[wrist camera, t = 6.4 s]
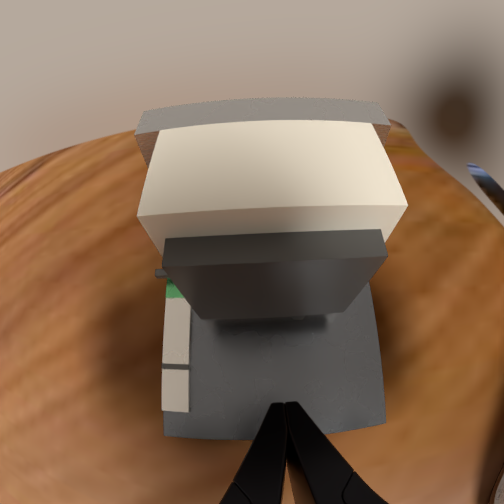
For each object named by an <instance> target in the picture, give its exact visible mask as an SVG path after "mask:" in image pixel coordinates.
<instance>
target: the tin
mask: <svg viewBox="0 0 504 504" xmlns="http://www.w3.org/2000/svg"><path fill="white" fill-rule="evenodd" d="M489 504H504V465H503V468H502V470H501V472H500V474H499V476H498V479H497V481H496V483H495V485H494V488H493V491H492V494H491V497H490V502H489Z"/></svg>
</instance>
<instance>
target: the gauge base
mask: <svg viewBox="0 0 504 504" xmlns="http://www.w3.org/2000/svg"><path fill="white" fill-rule="evenodd" d="M267 120H325V121H347V122H362V123H371V124H372V126H373V128H374V129H375V131H376V133H377V135H378V137H379V139H380V142H381V144H382V146H383V148H384V145H385V142H386V139H387V136H388V133H389V130H390V128H391V124H390V122H389V121H388V119H387V117H386V116H385V114H384V112H383V111H382V109H381V107H380V106H379V104H378V103H375V102H366V101H356V100H343V99H327V98H255V99H254V98H252V99H235V100H223V101H211V102H202V103H193V104H186V105H179V106H172V107H165V108H159V109H153V110H148V111H144V112H143V115H142V117H141V119H140V122H139V124H138V127H137V129H136V132H135V134H134V136H135V138H136V141H137V143H138V145H139V148H140V150H141V153H142V155H143V157H144V160H145V162H146V164H147V167H148V169H149V165H150V162H151V158H152V155H153V151H154V148H155V144H156V141H157V138H158V135H159V132H160V130H166V129H173V128H180V127H188V126H197V125H206V124H217V123H229V122H245V121H267ZM290 401H297V402H299V403H300V405H301V406H302V407H303V409H304V410H305V411H306V412H307V414H308V415H309V416H310V417H311V419H312V420H313V421H314V422H315V424H316V425H317V426H318V427H319V429H320V430H321V431H322V432H323V434H330V433H337V432H343V431H349V430H355V429H360V428H365V427H370V426H375V425H380V424H384V423H386V411H385V396H384V384H383V373H382V364H381V355H380V347H379V340H378V332H377V326H376V319H375V313H374V307H373V301H372V295H371V290H370V285H369V282H368V283H367V284H366V285H365V287H364V288H363V289H362V291H361V292H360V293H359V294H358V295H357V297H356V298H355V299H354V300H353V302H352V303H351V304H350V305H349V306H348V308H347V309H346V310H345V311H344V312H341V313H330V314H318V315H304V316H289V317H270V318H247V319H207V320H201V319H200V318H199V316H198V315H197V314H196V313H195V311H194V310H193V309H192V307H191V306H190V305H189V303H188V302H187V301H186V299H185V298H184V297H183V295H182V294H181V293H180V291H179V290H178V289H177V287H176V286H175V285H174V283H173V282H172V280H171V279H170V278H167V286H166V305H165V319H164V336H163V358H162V410H163V418H164V436H172V437H183V438H196V439H215V440H254V438H255V436H256V434H257V432H258V430H259V427H260V425H261V423H262V421H263V419H264V417H265V415H266V413H267V410H268V408H269V406H270V404H271V403H274V402H283V403H284V404H285V402H290Z"/></svg>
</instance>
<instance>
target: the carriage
mask: <svg viewBox="0 0 504 504" xmlns="http://www.w3.org/2000/svg"><path fill="white" fill-rule="evenodd" d="M407 206H408V204H407V201H406V199H405V196H404V194H403V191H402V189H401V186H400V184H399V181H398V179H397V177H396V174H395V172H394V170H393V167H392V165H391V163H390V161H389V158H388V156H387V154H386V152H385V150H384V148H383V146H382V144H381V142H380V139H379V137H378V135H377V133H376V131H375V129H374V128H373V126H372V124H371V123H362V122H347V121H325V120H267V121H245V122H229V123H217V124H206V125H197V126H188V127H180V128H173V129H166V130H160V132H159V135H158V138H157V141H156V144H155V148H154V151H153V155H152V158H151V162H150V165H149V169H148V172H147V176H146V180H145V184H144V188H143V192H142V196H141V200H140V204H139V209H138V213H137V218H138V219H139V221H140V223H141V224H142V226H143V227H144V229H145V231H146V232H147V234H148V235H149V237H150V239H151V240H152V242H153V243H154V245H155V246H156V248H157V250H158V251H159V253H160V254H161V256H162V257H163V260H162V268H163V269H155V277H156V278H170V279H171V280H172V282H173V283H174V285H175V286H176V287H177V289H178V290H179V291H180V293H181V294H182V295H183V297H184V298H185V299H186V301H187V302H188V303H189V305H190V306H191V307H192V309H193V310H194V311H195V313H196V314H197V315H198V316H199V318H200V319H201V320H207V319H247V318H270V317H289V316H304V315H318V314H330V313H341V312H344V311H345V310H346V309H347V308H348V306H349V305H350V304H351V303H352V302H353V300H354V299H355V298H356V297H357V295H358V294H359V293H360V292H361V291H362V289H363V288H364V287H365V285H366V284H367V283H368V282H369V280H370V279H371V278H372V277H373V275H374V274H375V273H376V271H377V270H378V269H379V267H380V266H381V265H382V264H383V262H384V261H385V259H386V258H387V257H388V254H387V250H386V246H385V242H386V240H387V238H388V237H389V235H390V234H391V232H392V231H393V229H394V227H395V226H396V224H397V223H398V221H399V219H400V218H401V216H402V215H403V213H404V211H405V210H406V208H407Z"/></svg>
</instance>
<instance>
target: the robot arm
mask: <svg viewBox="0 0 504 504" xmlns="http://www.w3.org/2000/svg"><path fill="white" fill-rule="evenodd" d="M286 461H287V467H288V472H289V477H290V482H291V486H292V491H293V496H294V500H295V504H388V503H387V502H386V501H385V500H383V499H382V498H381V497H380V496H379V495H378V494H377V493H375V492H374V491H373V490H372V489H371V488H370V487H369V486H368V485H367V484H366V483H365V482H364V481H363V480H362V479H361V477H360V476H359V475H358V474H357V473H356V472H355V471H354V469H353V468H352V467H351V466H350V465H349V464H348V462H347V461H346V460H345V459H344V458H343V457H342V455H341V454H340V453H339V452H338V451H337V449H336V448H335V447H334V446H333V445H332V443H331V442H330V441H329V440H328V438H327V437H326V436H325V435H324V434H323V432H322V431H321V430H320V429H319V427H318V426H317V425H316V424H315V422H314V421H313V420H312V419H311V417H310V416H309V415H308V414H307V412H306V411H305V410H304V409H303V407H302V406H301V405H300V403H299V402H297V401H290V402H285V404H284V403H283V402H274V403H271V404H270V406H269V408H268V410H267V413H266V415H265V417H264V419H263V421H262V423H261V425H260V427H259V430H258V432H257V434H256V436H255V438H254V440H253V442H252V444H251V446H250V448H249V450H248V452H247V454H246V456H245V458H244V460H243V462H242V464H241V466H240V468H239V470H238V471H237V473H236V475H235V477H234V479H233V482H232V483H231V484H230V486H229V488H228V490H227V492H226V493H225V495H224V496H223V498H222V500H221V501H220V503H219V504H282V499H283V490H284V481H285V470H286ZM353 471H354V472H353Z"/></svg>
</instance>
